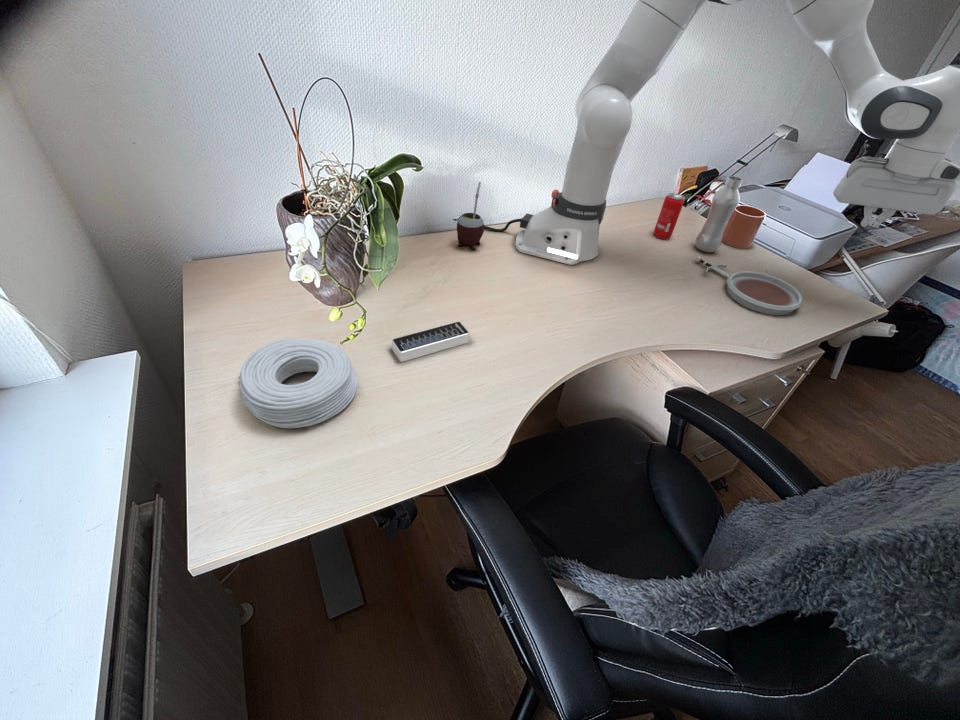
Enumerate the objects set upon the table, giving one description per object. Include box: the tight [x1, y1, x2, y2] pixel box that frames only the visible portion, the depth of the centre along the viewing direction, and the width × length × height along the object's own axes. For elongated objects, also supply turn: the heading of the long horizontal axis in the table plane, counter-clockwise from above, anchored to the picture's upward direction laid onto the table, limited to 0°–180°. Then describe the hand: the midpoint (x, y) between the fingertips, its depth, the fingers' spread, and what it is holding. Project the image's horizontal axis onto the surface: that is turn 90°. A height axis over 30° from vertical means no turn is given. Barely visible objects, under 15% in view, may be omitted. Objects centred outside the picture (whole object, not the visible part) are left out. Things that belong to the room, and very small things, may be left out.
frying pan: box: [695, 256, 803, 316], centre depth 114 cm, size 17×3×28 cm
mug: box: [721, 204, 767, 250], centre depth 133 cm, size 12×9×10 cm
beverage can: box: [653, 192, 686, 240], centre depth 131 cm, size 5×5×12 cm
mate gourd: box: [456, 181, 485, 252], centre depth 116 cm, size 8×8×15 cm
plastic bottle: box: [695, 175, 743, 253], centre depth 124 cm, size 6×7×20 cm
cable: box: [238, 337, 358, 429], centre depth 74 cm, size 18×18×6 cm
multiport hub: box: [391, 321, 470, 363], centre depth 87 cm, size 4×14×2 cm, turn 120°
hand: (868, 226), depth 101 cm, fingers closed
